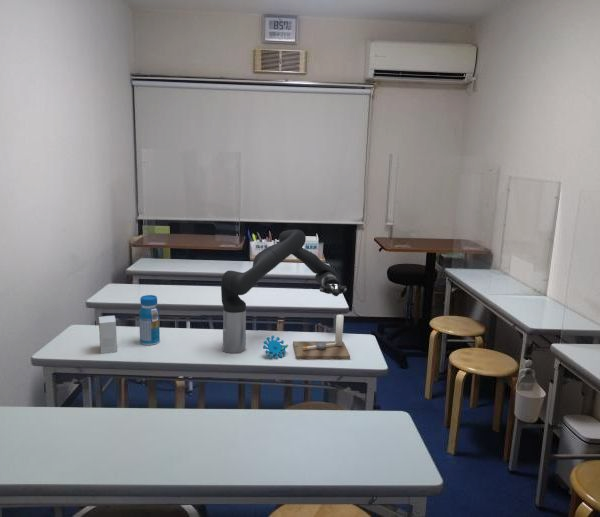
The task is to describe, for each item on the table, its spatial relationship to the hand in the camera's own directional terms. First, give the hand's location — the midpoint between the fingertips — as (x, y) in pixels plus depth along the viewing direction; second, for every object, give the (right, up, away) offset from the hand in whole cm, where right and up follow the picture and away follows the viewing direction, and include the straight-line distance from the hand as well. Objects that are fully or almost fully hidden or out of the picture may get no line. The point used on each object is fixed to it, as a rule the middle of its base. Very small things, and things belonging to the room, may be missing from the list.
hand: (336, 294), depth 225 cm
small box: (-94, -22, -17) cm, 98 cm away
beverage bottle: (-80, -20, -8) cm, 83 cm away
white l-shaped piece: (-7, -22, -11) cm, 25 cm away
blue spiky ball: (-26, -24, -17) cm, 39 cm away
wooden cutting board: (-7, -23, -11) cm, 27 cm away
